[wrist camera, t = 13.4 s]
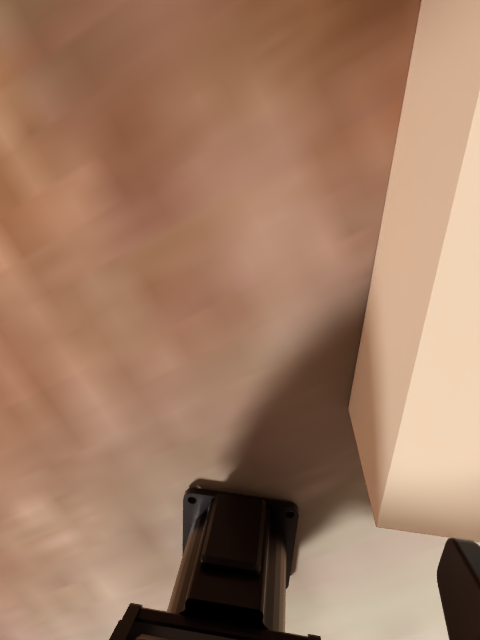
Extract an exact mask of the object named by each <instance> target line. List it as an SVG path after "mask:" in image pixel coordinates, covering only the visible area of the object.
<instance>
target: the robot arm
mask: <svg viewBox="0 0 480 640" xmlns="http://www.w3.org/2000/svg"><path fill="white" fill-rule="evenodd" d="M191 497H194V499H193V498H191ZM287 511H292V512H287ZM298 516H299V514H298V506H297V505H296V504H295V503H293V502H288V501H281V500H274V499H267V498H260V497H253V496H246V495H238V494H231V493H224V492H217V491H210V490H203V489H196V488H190V489H188V490H187V491H186V492H185V495H184V499H183V558H182V561H181V565H180V568H179V571H178V575H177V578H176V582H175V585H174V589H173V592H172V596H171V599H170V603H169V606H168V610H167V612H166V611H160V610H154V609H149V608H143V607H142V605H139V604H134V603H130V605H129V607H128V609H127V611H126V612H125V614H124V616H123V618H122V620H119V622H118V624H117V626H116V628H115V629H114V631H113V633H112V635H111V637H110V639H109V640H321V637H320V636H316V635H311V634H308V636H302V635H296V634H291V633H285V596H286V589H287V588H288V585H289V578H290V571H291V564H292V557H293V550H294V544H295V537H296V530H297V523H298ZM437 582H438V588H439V592H440V597H441V602H442V607H443V612H444V616H445V621H446V626H447V631H448V635H449V640H480V546H479V545H478V544H477V543H475V542H474V541H472V540H467V539H460V538H454V537H452V538H449V539H448V540H447V542H446V544H445V547H444V550H443V553H442V556H441V559H440V562H439V565H438V569H437Z"/></svg>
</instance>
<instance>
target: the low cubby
mask: <svg viewBox="0 0 480 640" xmlns="http://www.w3.org/2000/svg"><path fill="white" fill-rule="evenodd" d="M348 410H349V414H350V418H351V423H352V427H353V431H354V435H355V440H356V444H357V448H358V452H359V456H360V461H361V465H362V469H363V473H364V478H365V482H366V486H367V490H368V495H369V499H370V503H371V507H372V512H373V516H374V520H375V524H376V527H380V528H387V529H394V530H401V531H407V532H414V533H421V534H428V535H435V536H442V537H449V538H452V537H454V538H460V539H467V540H472V541H477V542H480V0H422V1H421V6H420V12H419V17H418V23H417V29H416V34H415V40H414V45H413V51H412V56H411V62H410V68H409V73H408V79H407V84H406V90H405V95H404V101H403V106H402V112H401V118H400V123H399V129H398V134H397V140H396V145H395V151H394V157H393V162H392V168H391V173H390V179H389V184H388V190H387V196H386V201H385V207H384V212H383V218H382V223H381V229H380V235H379V240H378V246H377V251H376V257H375V262H374V268H373V273H372V279H371V285H370V290H369V296H368V301H367V307H366V312H365V318H364V324H363V329H362V335H361V340H360V346H359V351H358V357H357V363H356V368H355V374H354V379H353V385H352V390H351V396H350V401H349V407H348Z"/></svg>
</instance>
